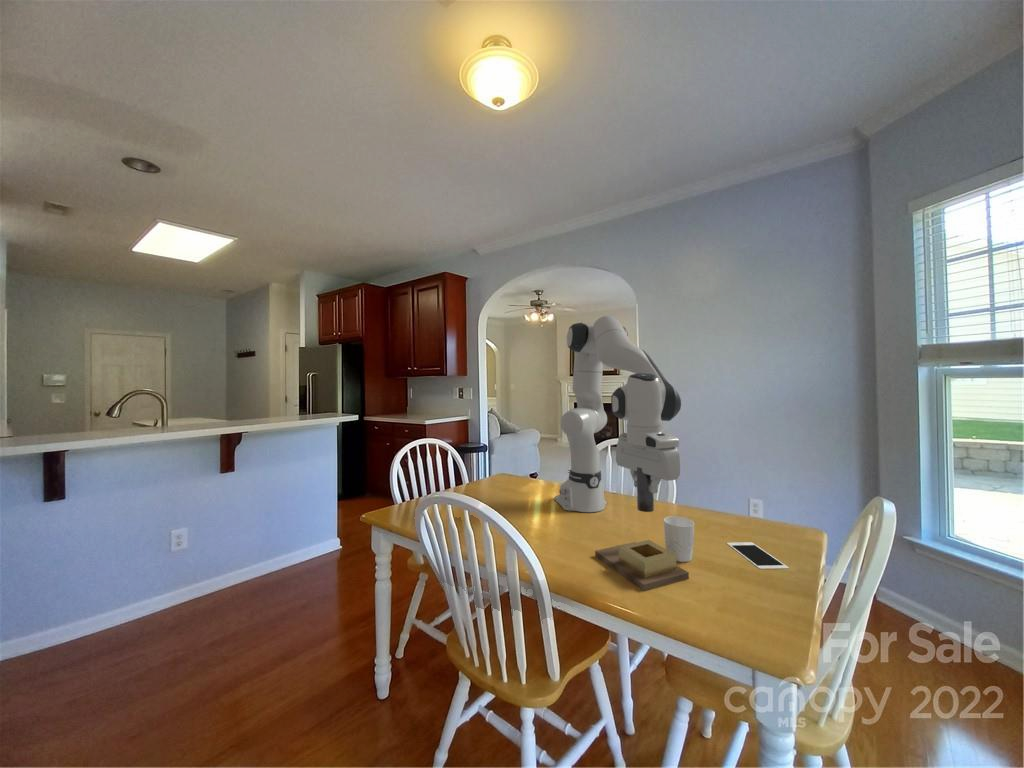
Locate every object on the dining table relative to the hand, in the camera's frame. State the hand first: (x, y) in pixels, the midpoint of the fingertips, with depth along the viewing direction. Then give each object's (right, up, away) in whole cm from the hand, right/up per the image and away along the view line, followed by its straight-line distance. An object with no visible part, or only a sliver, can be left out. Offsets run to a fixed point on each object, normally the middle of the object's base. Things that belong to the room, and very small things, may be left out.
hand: (645, 489), depth 102 cm
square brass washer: (0, -20, 0) cm, 20 cm away
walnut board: (-1, -21, +3) cm, 22 cm away
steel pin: (0, -5, 0) cm, 5 cm away
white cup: (+12, -21, +8) cm, 26 cm away
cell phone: (+34, -21, +9) cm, 41 cm away
